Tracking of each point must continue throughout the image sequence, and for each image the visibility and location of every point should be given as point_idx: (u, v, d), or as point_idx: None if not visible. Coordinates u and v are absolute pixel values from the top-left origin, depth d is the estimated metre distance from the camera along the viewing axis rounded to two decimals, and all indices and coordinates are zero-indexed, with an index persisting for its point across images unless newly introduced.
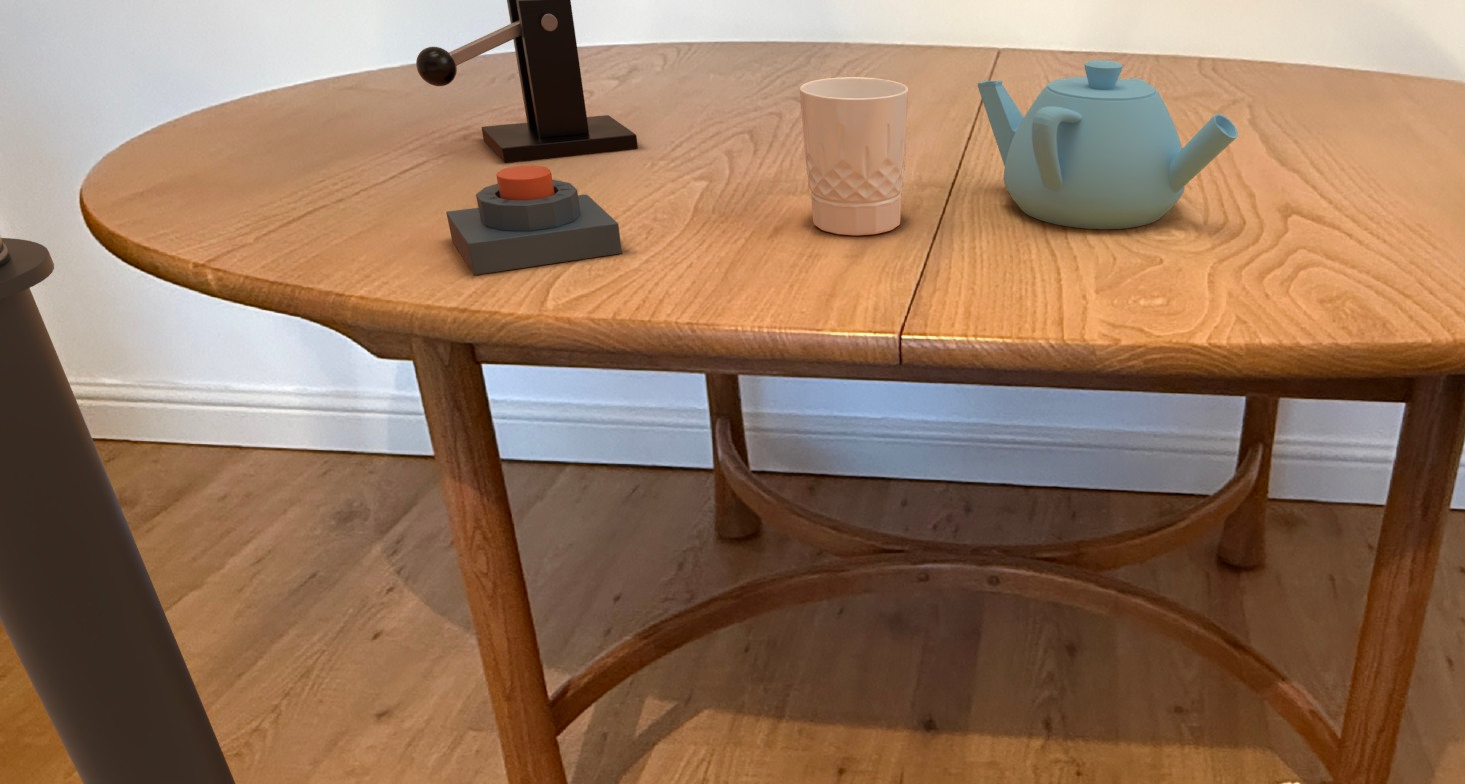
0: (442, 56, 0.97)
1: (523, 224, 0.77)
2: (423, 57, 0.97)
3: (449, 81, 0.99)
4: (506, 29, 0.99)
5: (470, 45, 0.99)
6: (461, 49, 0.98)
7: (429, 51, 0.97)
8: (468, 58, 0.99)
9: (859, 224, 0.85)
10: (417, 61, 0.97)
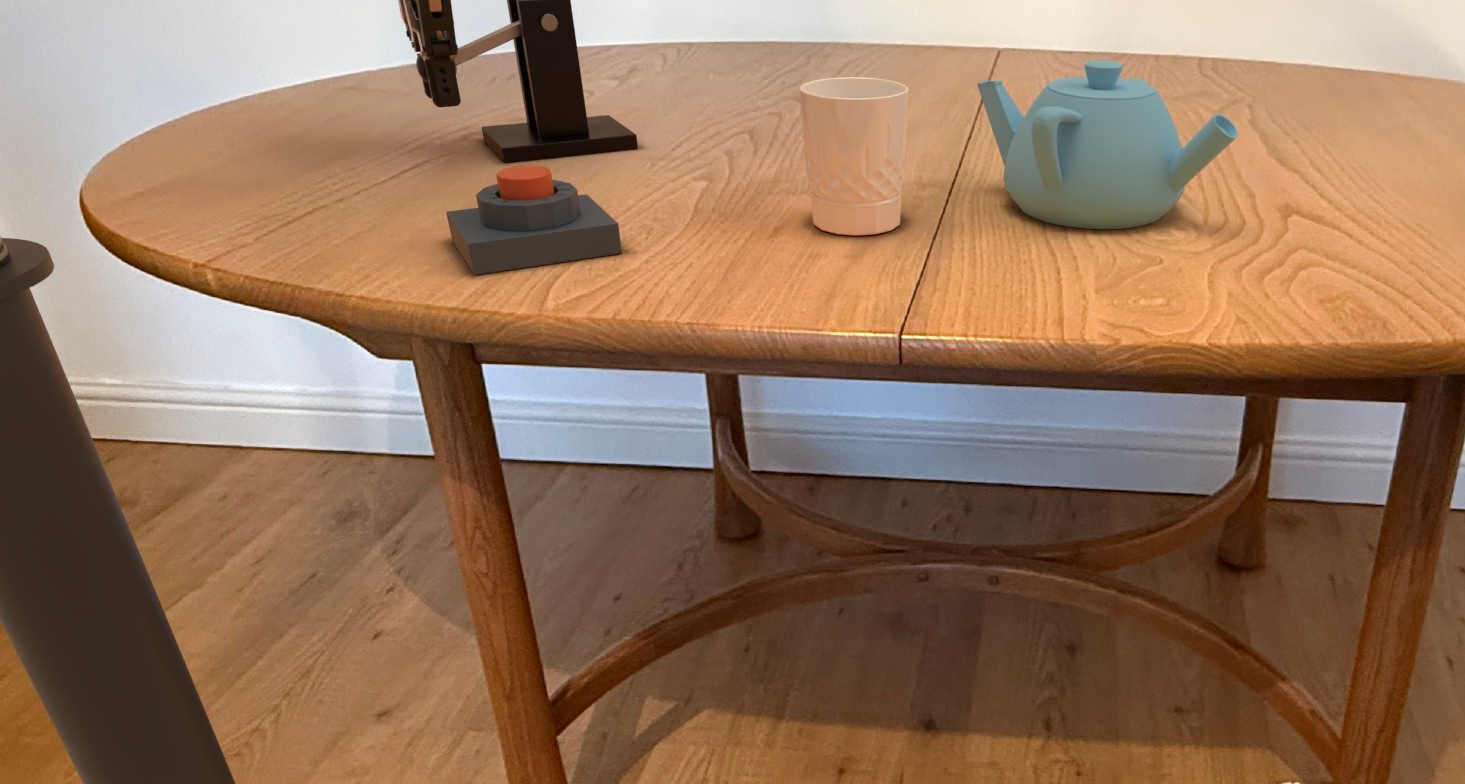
0: None
1: (523, 224, 0.77)
2: None
3: None
4: (506, 29, 0.99)
5: (470, 45, 0.99)
6: (461, 49, 0.98)
7: None
8: (468, 58, 0.99)
9: (859, 224, 0.85)
10: (417, 61, 0.97)
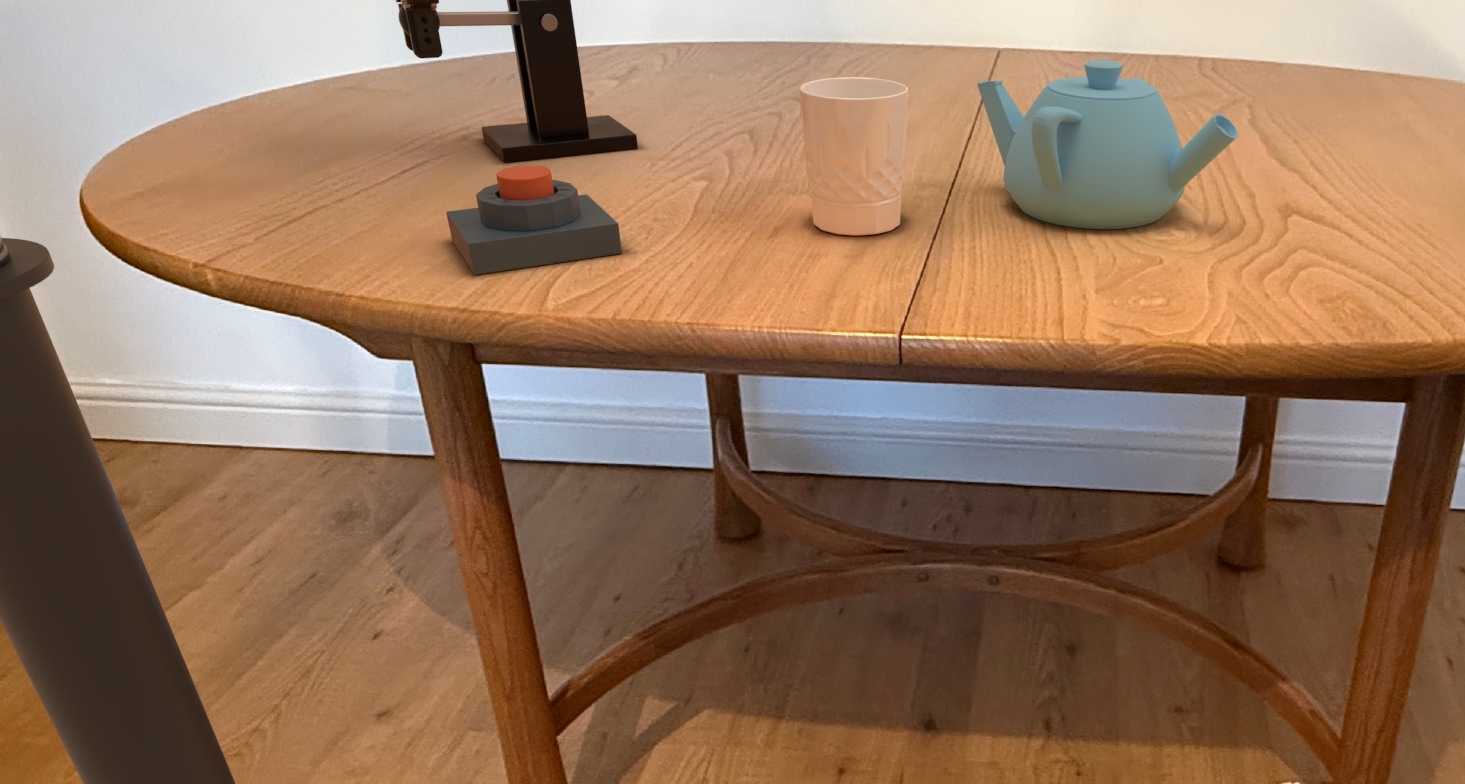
0: None
1: (523, 224, 0.77)
2: None
3: None
4: (503, 13, 0.99)
5: (461, 13, 0.97)
6: (451, 13, 0.97)
7: None
8: (454, 24, 0.97)
9: (859, 224, 0.85)
10: (402, 6, 0.95)
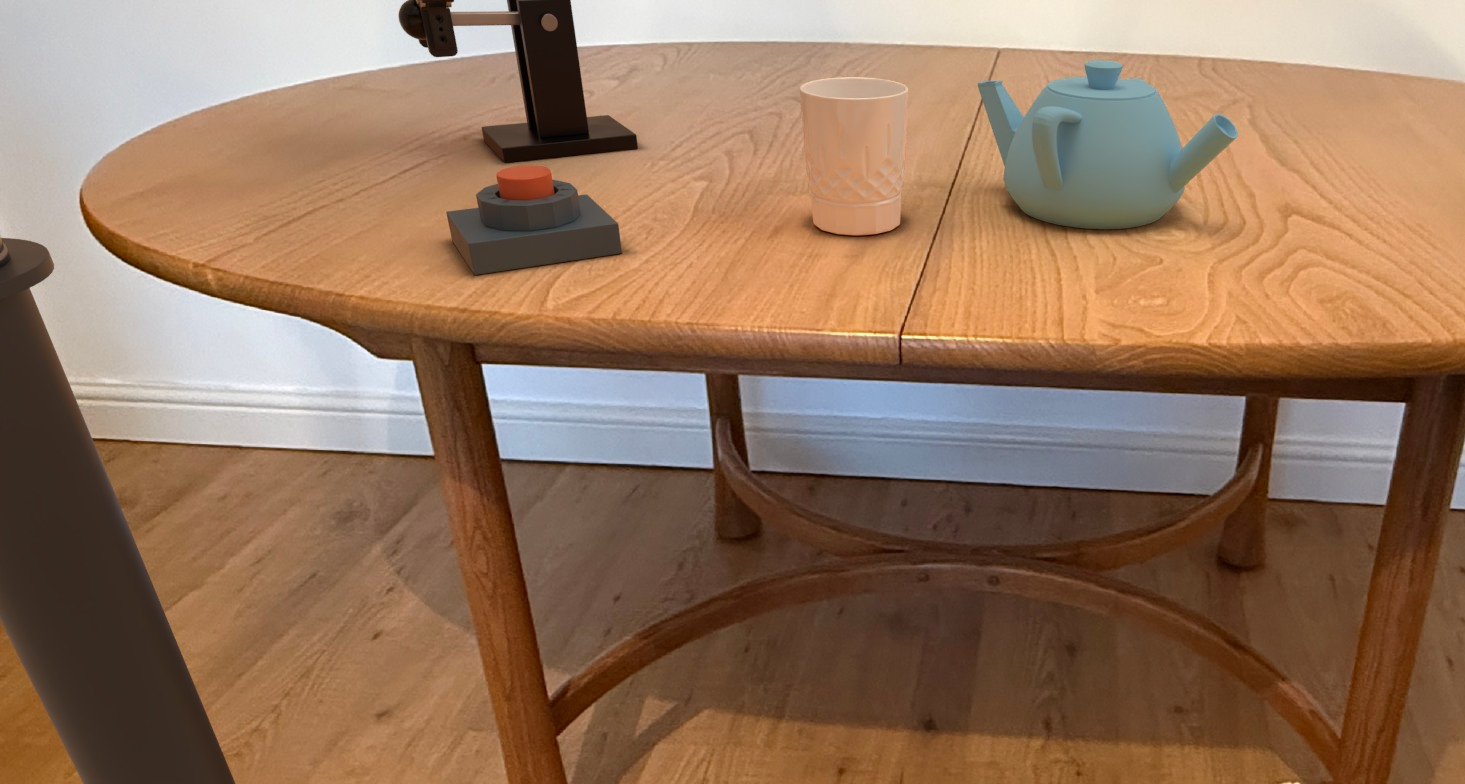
0: None
1: (523, 224, 0.77)
2: (410, 4, 0.95)
3: None
4: (503, 13, 0.99)
5: (461, 13, 0.97)
6: (451, 13, 0.97)
7: None
8: (454, 24, 0.97)
9: (859, 224, 0.85)
10: (402, 6, 0.95)
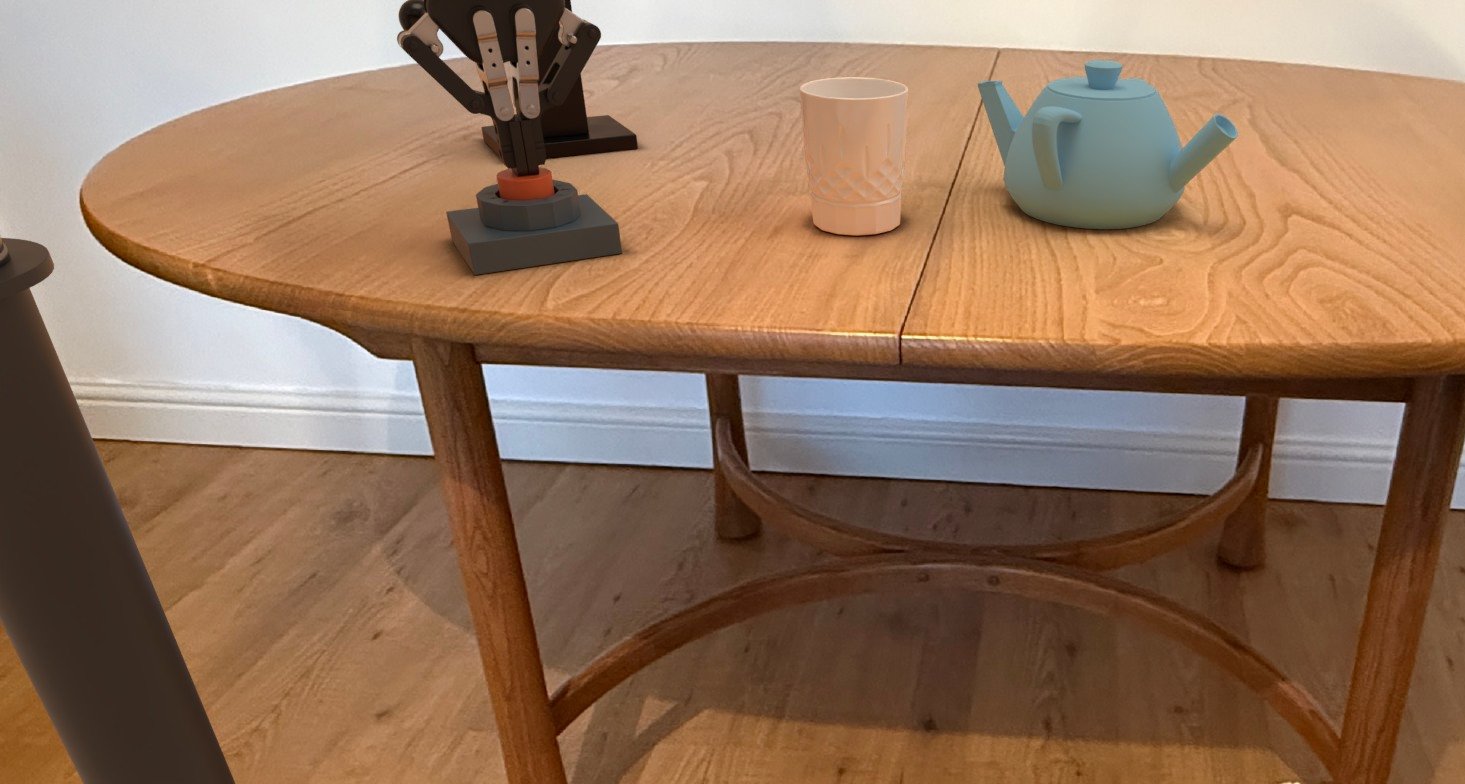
0: None
1: (523, 224, 0.77)
2: (410, 4, 0.95)
3: None
4: None
5: None
6: None
7: (418, 2, 0.95)
8: None
9: (859, 224, 0.85)
10: (402, 6, 0.95)
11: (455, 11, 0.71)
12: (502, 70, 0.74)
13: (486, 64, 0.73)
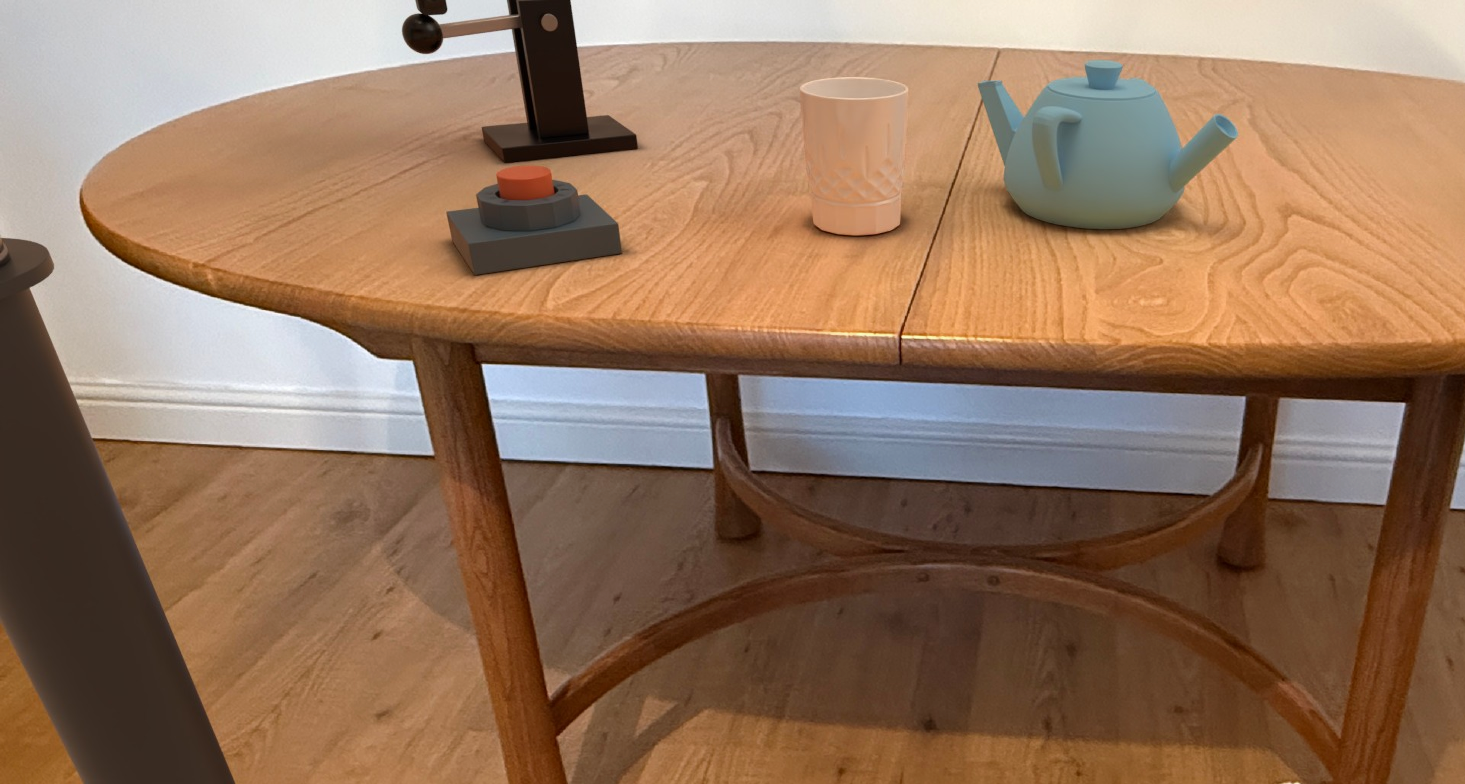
0: (432, 25, 0.96)
1: (523, 224, 0.77)
2: (412, 20, 0.95)
3: (432, 51, 0.97)
4: (503, 18, 0.99)
5: (463, 23, 0.98)
6: (452, 24, 0.97)
7: (420, 17, 0.96)
8: (457, 35, 0.98)
9: (859, 224, 0.85)
10: (404, 23, 0.96)
11: None
12: None
13: None
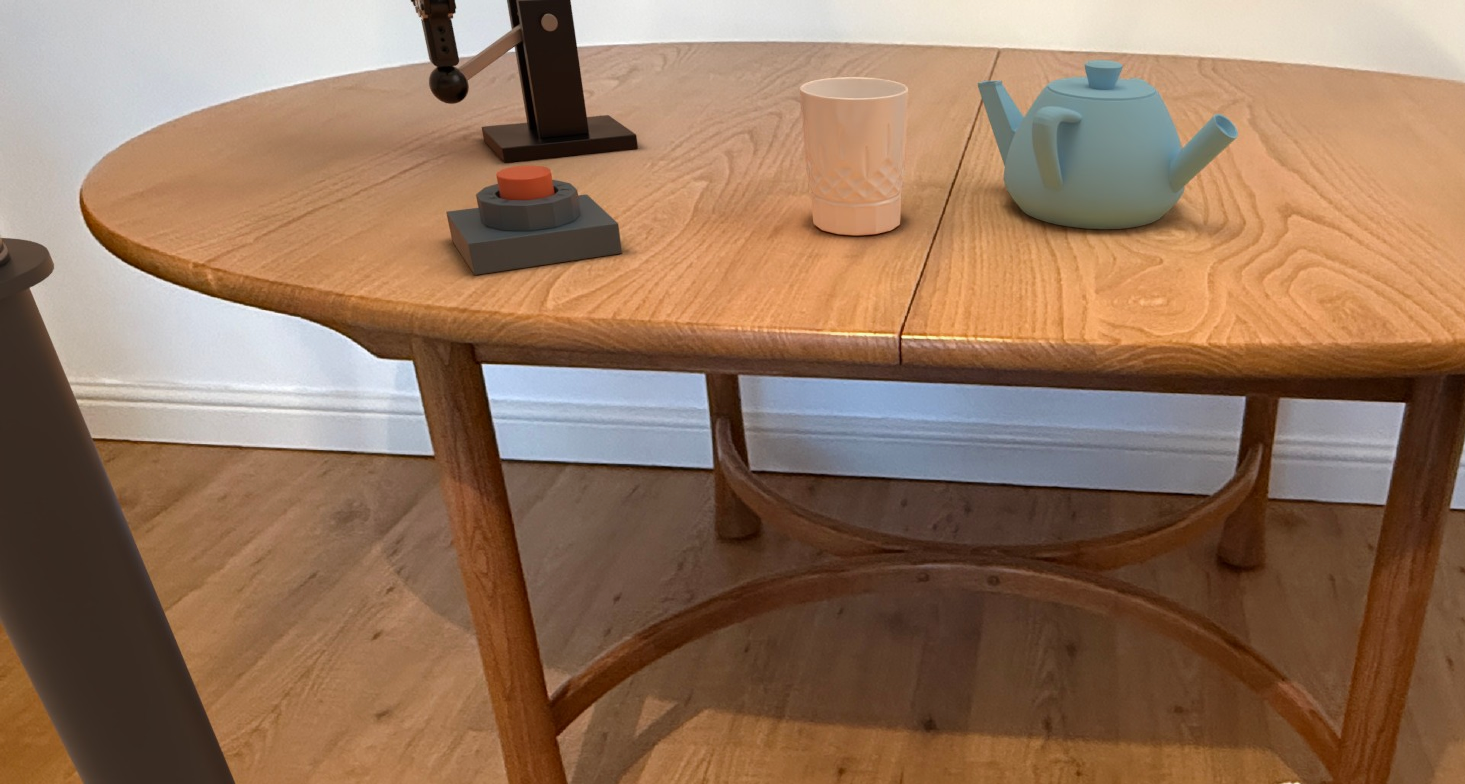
0: (452, 74, 0.98)
1: (523, 224, 0.77)
2: (434, 78, 0.98)
3: (463, 97, 1.00)
4: (509, 35, 1.00)
5: (477, 57, 0.99)
6: (469, 63, 0.99)
7: (439, 71, 0.98)
8: (477, 71, 1.00)
9: (859, 224, 0.85)
10: (429, 82, 0.99)
11: None
12: None
13: None
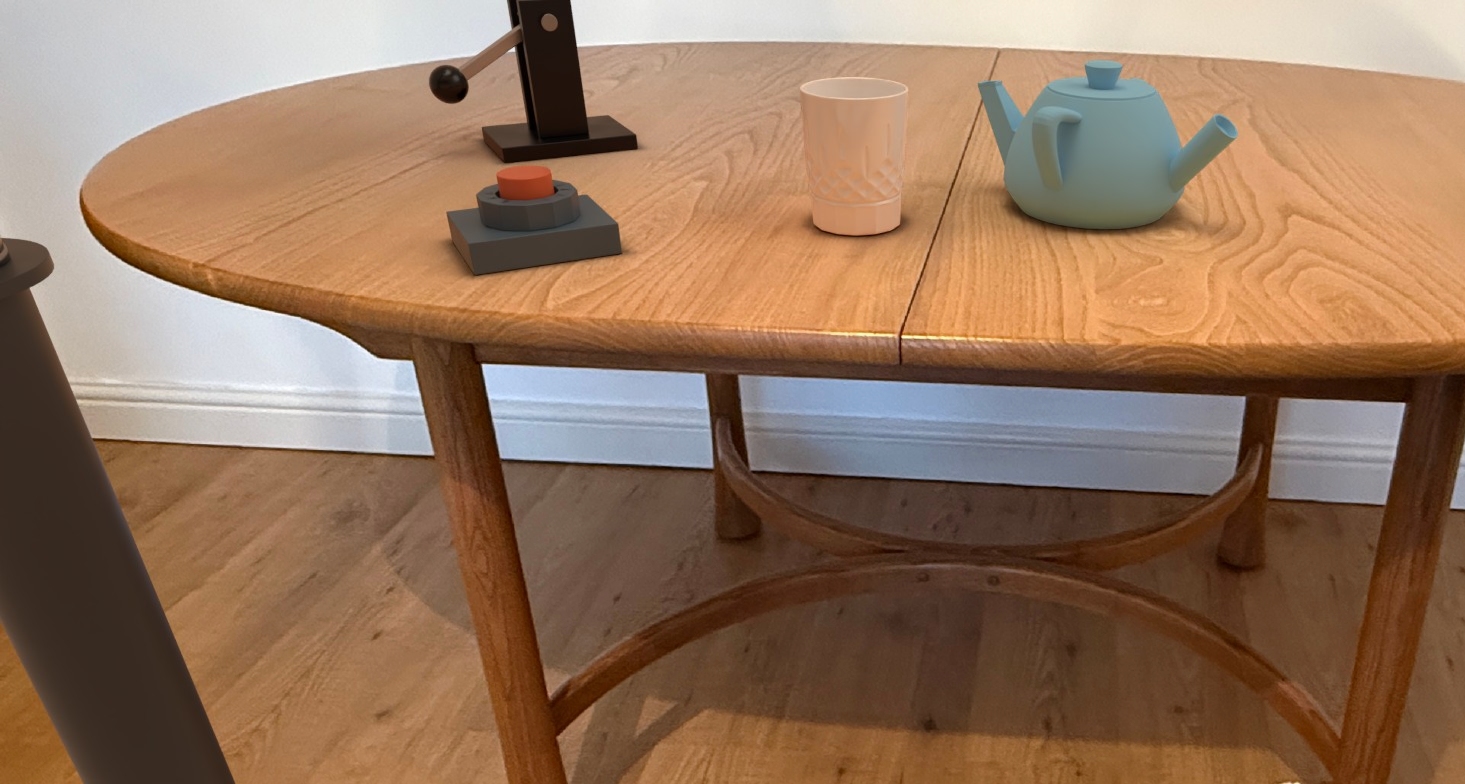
0: (452, 74, 0.98)
1: (523, 224, 0.77)
2: (434, 78, 0.98)
3: (463, 97, 1.00)
4: (509, 35, 1.00)
5: (477, 57, 0.99)
6: (469, 63, 0.99)
7: (439, 71, 0.98)
8: (477, 71, 1.00)
9: (859, 224, 0.85)
10: (429, 82, 0.99)
11: None
12: None
13: None
